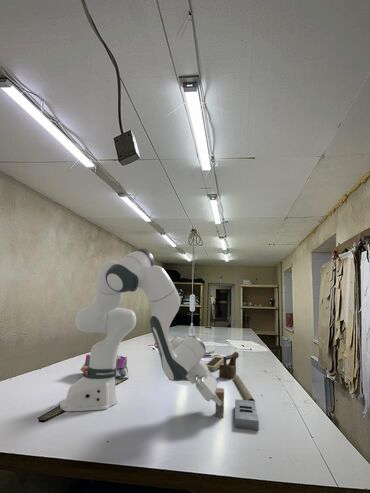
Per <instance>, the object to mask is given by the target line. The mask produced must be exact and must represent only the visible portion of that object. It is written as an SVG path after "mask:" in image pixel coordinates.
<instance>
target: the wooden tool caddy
mask: <svg viewBox="0 0 370 493" xmlns="http://www.w3.org/2000/svg"><path fill="white" fill-rule="evenodd" d="M239 356H240V355H239V353H238V351H234V352H233V353H232V354H230V355H226V356H223V359H224V362H223V364H222V365H220V366H219V368H218V369H219V371H218V377H219V378H223V379H226V380H234V379H233V377H234V376H235V375H237V364H236V363H237V359H239ZM227 361H229V363H227Z"/></svg>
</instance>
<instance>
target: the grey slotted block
mask: <svg viewBox="0 0 370 493" xmlns="http://www.w3.org/2000/svg"><path fill="white" fill-rule="evenodd" d="M234 411H235V412H234V417H235V418H234V421H235V427H234V428H236V429H243V430H250V431H251V430H252V431H259V428H260V426H259V425H260V421H259V416H258V410H257V407H256V401H248V400H245V399H235V400H234Z"/></svg>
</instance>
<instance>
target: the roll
mask: <svg viewBox="0 0 370 493" xmlns="http://www.w3.org/2000/svg"><path fill="white" fill-rule="evenodd" d="M232 380H233V381H234V382H235V384H236V386H237V388H238V389H239V391H240V393H241V395H242V396H243V398H244V400H248V401H255V400H256V399H254V397H253V395H252V394H251V393H250V391H249V390H248V389H247V388H248V387H246V385H245V384H244V382H243V381H242V379H241V377H240V376H239V375H238V374H236V375H235V376H234V377H233V379H232ZM255 402H256V401H255Z"/></svg>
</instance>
